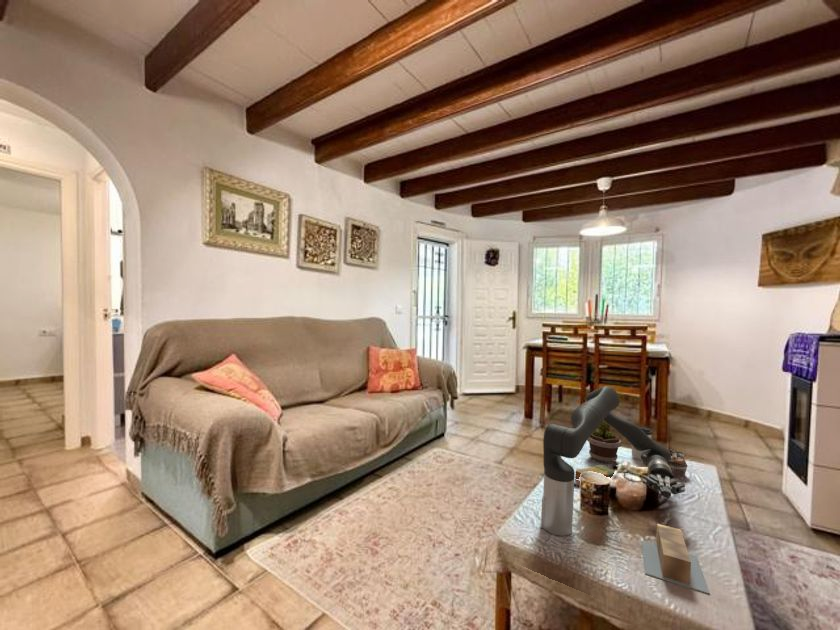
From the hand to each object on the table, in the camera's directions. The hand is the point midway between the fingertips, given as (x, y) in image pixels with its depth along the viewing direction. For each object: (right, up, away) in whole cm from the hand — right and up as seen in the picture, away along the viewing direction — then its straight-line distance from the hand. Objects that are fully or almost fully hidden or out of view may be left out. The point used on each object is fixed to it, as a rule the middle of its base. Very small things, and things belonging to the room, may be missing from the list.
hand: (666, 494), depth 119 cm
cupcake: (+32, -12, +43) cm, 55 cm away
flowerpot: (+7, -11, +56) cm, 58 cm away
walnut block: (-5, -9, -8) cm, 13 cm away
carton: (-6, -11, +35) cm, 37 cm away
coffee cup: (+28, -11, +60) cm, 67 cm away
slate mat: (-9, -12, -15) cm, 22 cm away
